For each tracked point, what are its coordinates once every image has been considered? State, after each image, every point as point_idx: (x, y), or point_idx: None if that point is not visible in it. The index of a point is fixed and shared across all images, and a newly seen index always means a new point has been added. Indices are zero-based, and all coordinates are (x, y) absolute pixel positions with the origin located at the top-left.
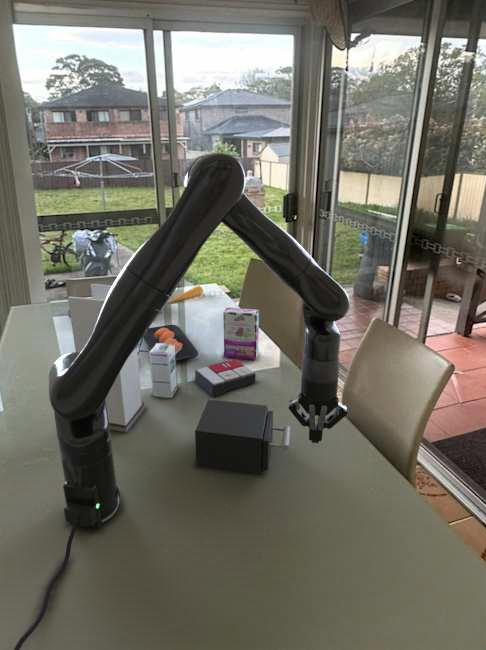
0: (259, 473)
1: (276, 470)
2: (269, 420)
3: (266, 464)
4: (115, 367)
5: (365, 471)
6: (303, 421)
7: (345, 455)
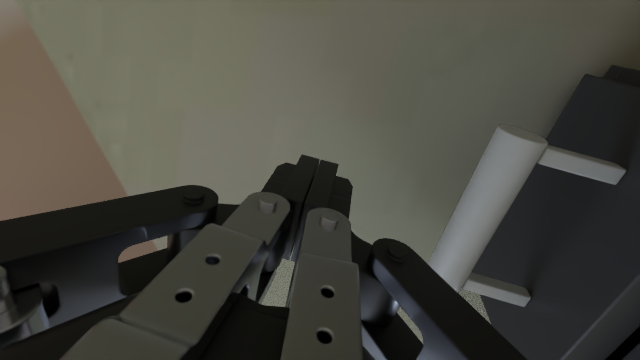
0: (622, 67)
1: (516, 91)
2: (597, 343)
3: (613, 81)
4: None
5: (138, 59)
6: (405, 274)
7: (203, 154)
